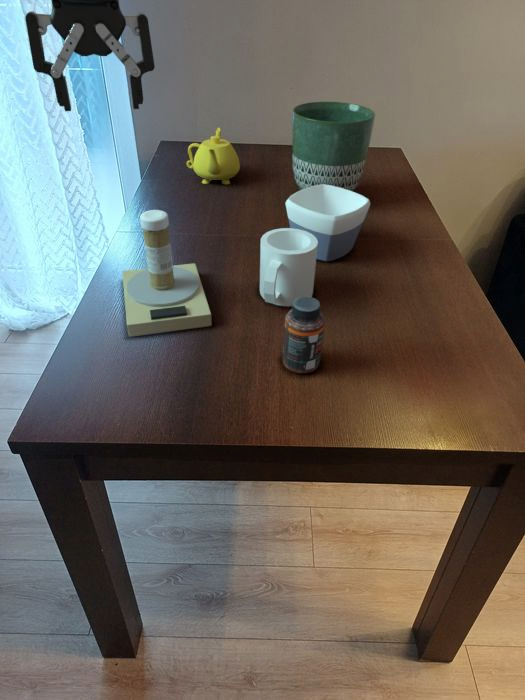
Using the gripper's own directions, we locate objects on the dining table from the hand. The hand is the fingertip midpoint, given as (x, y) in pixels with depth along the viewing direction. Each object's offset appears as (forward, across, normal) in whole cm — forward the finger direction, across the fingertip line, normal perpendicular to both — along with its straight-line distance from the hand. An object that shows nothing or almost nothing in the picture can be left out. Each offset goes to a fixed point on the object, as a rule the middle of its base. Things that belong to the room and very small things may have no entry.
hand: (102, 109), depth 64 cm
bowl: (+34, -42, -19) cm, 57 cm away
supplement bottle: (+34, -25, +17) cm, 45 cm away
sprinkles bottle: (+31, -6, -7) cm, 32 cm away
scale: (+34, -6, -5) cm, 35 cm away
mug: (+34, -28, -3) cm, 44 cm away
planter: (+33, -52, -45) cm, 76 cm away
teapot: (+33, -26, -66) cm, 78 cm away
